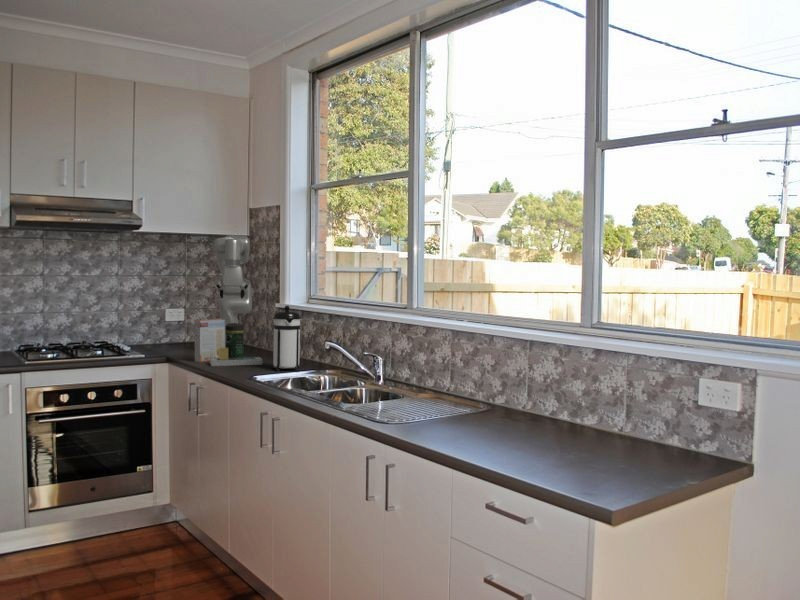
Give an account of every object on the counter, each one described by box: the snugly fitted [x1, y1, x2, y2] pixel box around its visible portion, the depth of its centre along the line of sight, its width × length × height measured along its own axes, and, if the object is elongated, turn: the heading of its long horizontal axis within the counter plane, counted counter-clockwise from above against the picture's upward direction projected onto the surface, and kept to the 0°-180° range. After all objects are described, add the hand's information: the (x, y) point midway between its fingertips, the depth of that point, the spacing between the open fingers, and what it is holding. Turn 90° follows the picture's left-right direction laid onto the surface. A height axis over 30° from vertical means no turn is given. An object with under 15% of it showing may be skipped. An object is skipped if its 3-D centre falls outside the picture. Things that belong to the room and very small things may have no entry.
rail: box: [209, 356, 263, 367], centre depth 349 cm, size 8×24×3 cm, turn 110°
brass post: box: [219, 347, 228, 360], centre depth 347 cm, size 4×4×8 cm
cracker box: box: [193, 318, 225, 363], centre depth 359 cm, size 14×6×21 cm, turn 135°
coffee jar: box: [225, 323, 245, 358], centre depth 369 cm, size 10×8×19 cm
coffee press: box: [271, 305, 302, 371], centre depth 338 cm, size 17×16×30 cm
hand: (232, 298), depth 359 cm, fingers open, 9 cm apart
